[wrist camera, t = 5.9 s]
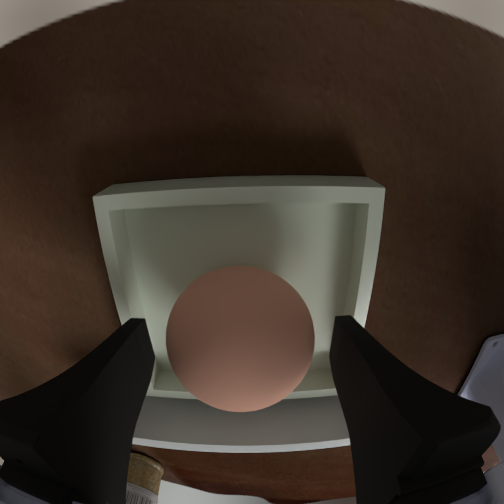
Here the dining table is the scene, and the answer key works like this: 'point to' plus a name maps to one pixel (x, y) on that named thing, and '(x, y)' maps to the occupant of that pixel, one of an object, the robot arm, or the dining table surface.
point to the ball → (240, 338)
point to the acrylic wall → (242, 426)
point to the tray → (242, 250)
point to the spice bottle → (143, 480)
